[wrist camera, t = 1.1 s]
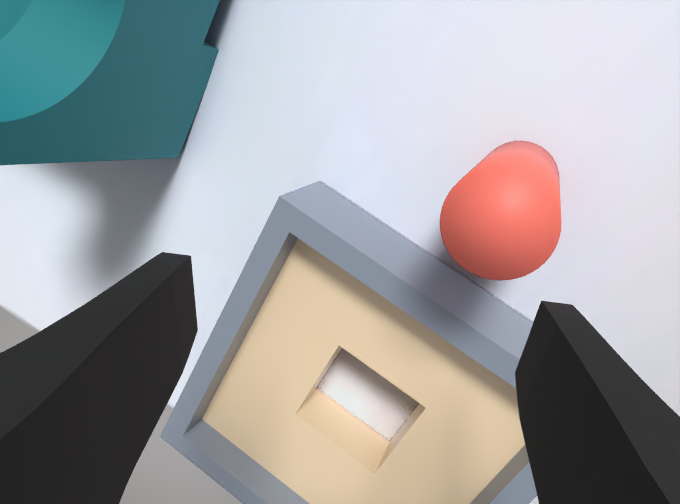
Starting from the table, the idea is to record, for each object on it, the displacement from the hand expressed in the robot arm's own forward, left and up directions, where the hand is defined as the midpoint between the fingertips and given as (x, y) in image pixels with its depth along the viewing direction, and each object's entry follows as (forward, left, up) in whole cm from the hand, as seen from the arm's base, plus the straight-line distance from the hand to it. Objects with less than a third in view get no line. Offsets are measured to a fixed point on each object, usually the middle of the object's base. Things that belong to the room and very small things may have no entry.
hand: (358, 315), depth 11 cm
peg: (-1, -2, -12) cm, 12 cm away
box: (-1, +9, -12) cm, 15 cm away
